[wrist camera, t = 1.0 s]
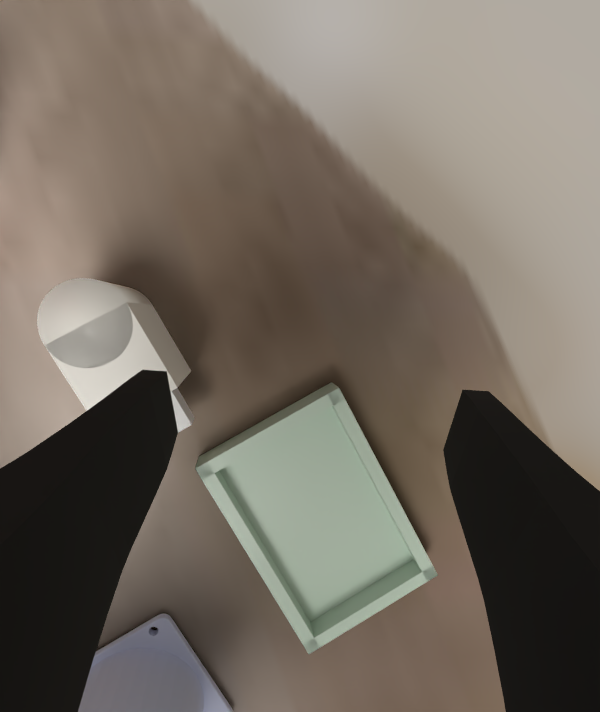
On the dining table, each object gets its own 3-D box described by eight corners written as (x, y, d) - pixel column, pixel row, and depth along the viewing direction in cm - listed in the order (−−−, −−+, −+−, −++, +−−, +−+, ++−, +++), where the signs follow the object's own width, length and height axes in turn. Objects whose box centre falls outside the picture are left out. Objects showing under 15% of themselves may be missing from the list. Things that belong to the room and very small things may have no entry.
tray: (304, 630, 25) (308, 654, 23) (198, 456, 23) (195, 468, 21) (424, 556, 25) (437, 575, 24) (331, 382, 23) (339, 387, 22)
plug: (210, 402, 23) (201, 427, 18) (150, 435, 22) (125, 470, 17) (134, 273, 21) (102, 262, 16) (69, 306, 21) (18, 304, 16)
